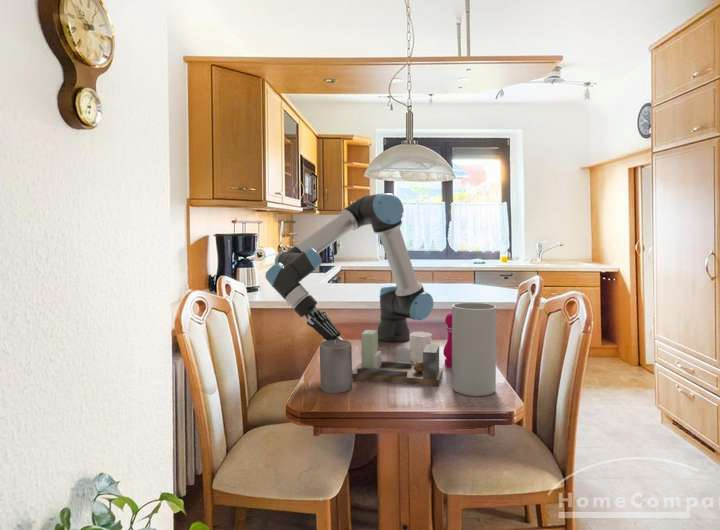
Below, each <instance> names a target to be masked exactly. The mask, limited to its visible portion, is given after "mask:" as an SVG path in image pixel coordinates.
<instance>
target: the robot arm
mask: <svg viewBox="0 0 720 530" xmlns="http://www.w3.org/2000/svg"><path fill="white" fill-rule="evenodd" d="M404 211H405V210H404V205H403V203H402V201H401V199H400V198H399V197H398V196H396V195H395V194H393V193H388V192H387V193H385V192H383V193H376V194H368V195H364V196H362V197H360V198H358V199H357V200H355V201H353V202H352V203H350V204H349V205H348V206H346V207H345V208H344V209H342V210H341V211H340V215H338V216H337V217H335V218H333V219H332V220H331V221H329V222H328V223H326V224H325V225H323V226H321V228H319V229H318V230H316V231H315V232H313V233H312V234H311V235H309V236H307V237H306V238H304V239H303V240H301V241H300V242H298V243H297V244H296V245H295V246H293V247H291V248H290V249H289V250H287V251H282V252H279V253H278V254H277V255H276V256H275V259H274V264H273V265H272V266H271V267H270V268H269V269H268V270H267V271H266V273H265V279H266V281H267V282H268V283H269V284H270V285H271V287H272V288H273V289H274V290H275V291H276V292H277V294H279V295H280V296H281V297H282V298H283V300H284V301H285V302H287V303H286V304H287V305H288V306H290V307H291V308H292V309H294V312H295V313H296V314H297V315H298V316H299V317H300V318H303V317H305V318H306V319H307V321H306V325H308V326H310V327H311V328H312V329H313V330H315V331H316V332H317V333H318V334H319V335H320V336H321V337H322V338H324V339H325V341H328V340H335V339H336V340H344V339H343V338H342V337H341V335H342V332H340V331H339V329H338V328H337V327H336V326H335V324H334V322H333V321H332V320H331V319H330V317H328V314H327V312H326V311H321V310H320V309H318V308H317V307H316V306H317V305H318V301H317V300H316V299H315V298H314V297H313V296H312V295H311V294H310V292H309V291H308V290H307V288H305V287H304V286H303V284H301V283H300V282H301V281H303V280H304V279H305V278H307V277H308V276H309V275H310V274H312V273H313V272H314V271H315V270H317V269H318V268H319V267H320V266H322V262H323V260H322V257H321V255H320V253H321V252H323V251H324V250H325V249H327V248H328V247H330V246H331V245H333V244H334V243H336V242H337V241H338V240H340V239H341V238H342V237H343V236H345V235H347V234H348V233H349V232H350V231H356V230H357V229H359V228H361V227H363V226H367V225H371V228H372V229H373V232H374V233H375V234H377V235H378V236H379V239H380V242H381V244H382V245H381V246H382V248H383V250H384V252H385V253H384V254H385V256H386V259H387V262H388V265H389V268H390V271H391V274H392V276H393V279H394V283H395V285H392V286H383V287H381V288H380V291H379V316H380V317H379V319H380V320H379V323H378V328H377V330H378V341H383V342H390V341H398V342H405V340H406V341H410V335H409V334H410V333H412V332H411V330H410V327H409V323H408V319H411V320H413V321H423V320H426V319H427V318H429V316H430V315H431V313H432V310H433V308H434V298H433V296H432V295H431V294H430V293H429V292H427V291H425V289H424V286H423V283H422V282H419V281H418V279H417V277H416V273H415V270H414V268H413V265H412V262H411V259H410V255H409V253H408V249H407V247H406V243H405V240H404V237H403V234H402V231H401V226H402V224H403V221H402V218H403V217H404ZM352 352H353V349H352Z"/></svg>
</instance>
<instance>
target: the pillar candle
mask: <svg viewBox="0 0 720 530" xmlns="http://www.w3.org/2000/svg"><path fill="white" fill-rule="evenodd" d="M352 347H353V346H352V342H351V341H349V340H347V339H346V340H345V339H343V340H336V339H335V340H328V341H327V340H324V341H322V342H320V343H319V367H320V368H319V370H320V371H319V374H320V375H319V376H320V378H319V379H320V390H321V391H322V392H324V393H328V394H339V393H340V394H341V393H344V392H345V393H346V391H347V392H349V391H351V390H352V389H353V380H352V371H353V355H352V353H353V351H352V350H353V349H352ZM350 389H351V390H350Z"/></svg>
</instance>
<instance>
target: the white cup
mask: <svg viewBox="0 0 720 530" xmlns="http://www.w3.org/2000/svg"><path fill="white" fill-rule="evenodd" d="M409 335H410V339H409V349H410V361H411V363H413V362H414V364H415V362H417V361H421V362H423V351H424V349H425V347H426V345H427V344H432V335H433V334H432V333H431V332H427V331H413V332H411V333H410V334H409Z"/></svg>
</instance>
